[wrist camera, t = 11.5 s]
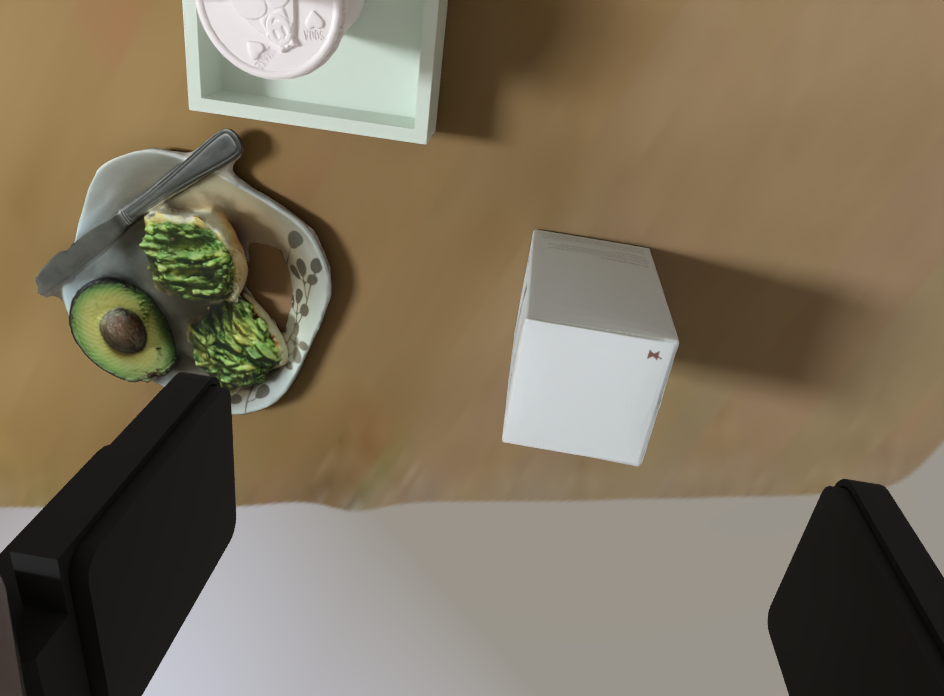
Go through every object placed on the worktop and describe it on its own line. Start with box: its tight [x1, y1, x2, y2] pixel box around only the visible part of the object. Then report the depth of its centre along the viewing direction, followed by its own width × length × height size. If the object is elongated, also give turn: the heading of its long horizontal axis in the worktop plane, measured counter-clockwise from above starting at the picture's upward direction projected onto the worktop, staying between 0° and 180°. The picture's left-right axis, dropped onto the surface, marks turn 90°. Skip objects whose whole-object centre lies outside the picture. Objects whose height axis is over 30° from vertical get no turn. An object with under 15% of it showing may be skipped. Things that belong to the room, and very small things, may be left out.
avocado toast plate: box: [36, 129, 332, 415], centre depth 45 cm, size 19×18×5 cm
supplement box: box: [502, 230, 679, 466], centre depth 40 cm, size 7×7×13 cm
